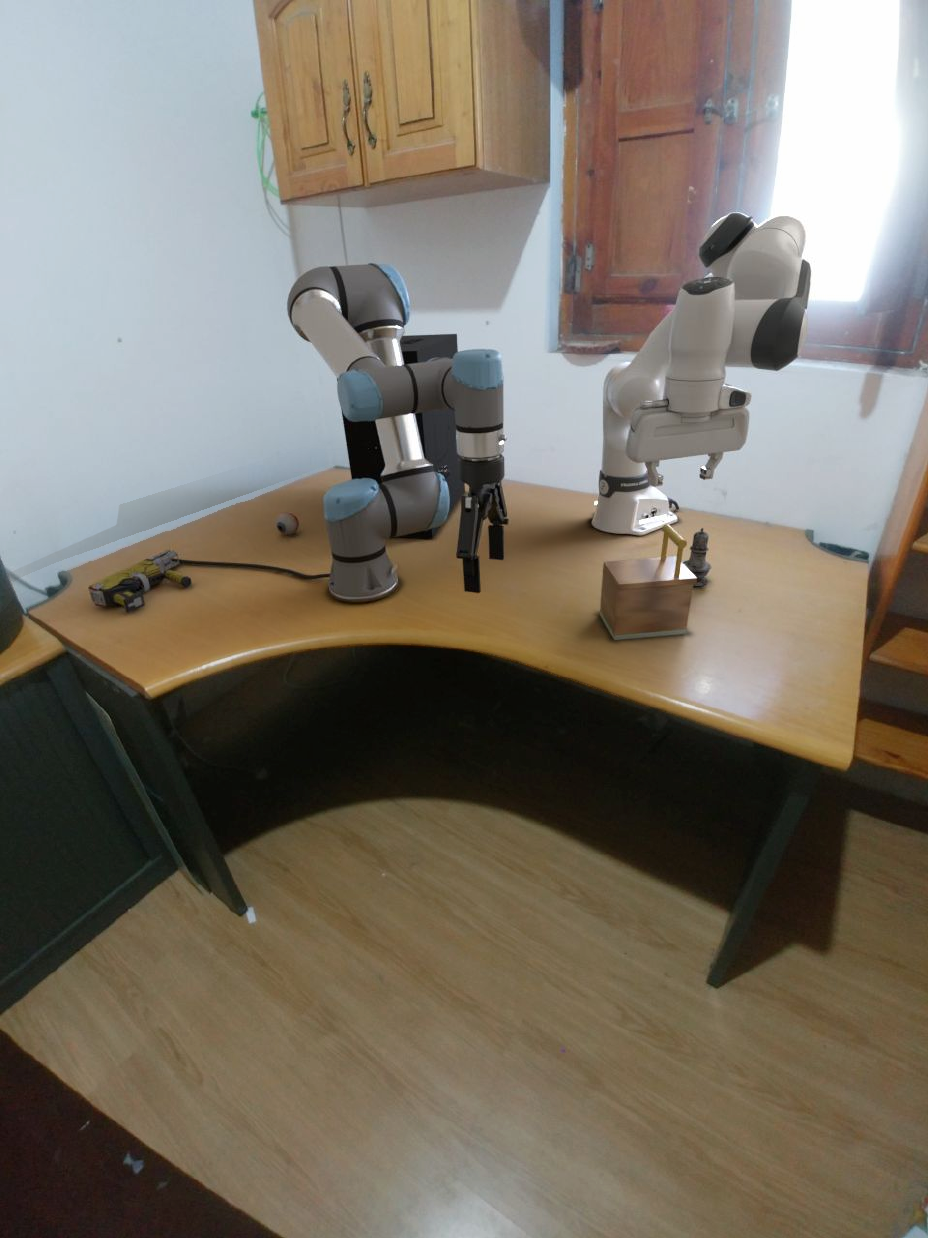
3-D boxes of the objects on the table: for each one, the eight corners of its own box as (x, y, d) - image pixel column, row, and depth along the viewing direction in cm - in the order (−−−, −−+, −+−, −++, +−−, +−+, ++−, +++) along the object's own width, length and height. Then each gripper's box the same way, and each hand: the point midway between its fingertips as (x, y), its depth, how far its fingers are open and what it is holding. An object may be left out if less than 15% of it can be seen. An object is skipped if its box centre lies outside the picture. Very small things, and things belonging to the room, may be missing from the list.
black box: (432, 538, 157) (416, 350, 135) (359, 535, 162) (333, 353, 139) (465, 491, 189) (456, 333, 166) (403, 490, 193) (387, 336, 171)
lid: (675, 560, 115) (680, 520, 110) (696, 583, 106) (703, 540, 102) (603, 566, 114) (605, 526, 110) (618, 589, 106) (622, 547, 101)
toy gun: (215, 558, 145) (165, 547, 149) (137, 600, 125) (81, 586, 129) (218, 575, 148) (168, 564, 152) (142, 619, 128) (87, 605, 131)
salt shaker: (710, 587, 126) (720, 533, 120) (681, 586, 127) (688, 532, 121) (706, 574, 131) (715, 522, 125) (678, 573, 132) (685, 522, 126)
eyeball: (273, 537, 164) (268, 516, 161) (287, 528, 169) (282, 508, 166) (291, 539, 161) (286, 518, 158) (305, 530, 166) (301, 510, 163)
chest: (666, 608, 120) (672, 561, 115) (685, 633, 111) (693, 583, 106) (599, 614, 119) (602, 566, 114) (614, 640, 111) (618, 590, 106)
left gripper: (477, 479, 86) (482, 610, 96) (524, 437, 106) (524, 548, 116) (428, 476, 88) (439, 604, 99) (483, 435, 108) (487, 545, 119)
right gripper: (642, 406, 90) (633, 495, 97) (761, 393, 94) (745, 479, 101) (622, 399, 96) (615, 484, 103) (735, 387, 99) (722, 469, 106)
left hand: (485, 574), depth 107 cm, fingers open, 13 cm apart
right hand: (681, 482), depth 102 cm, fingers open, 8 cm apart
